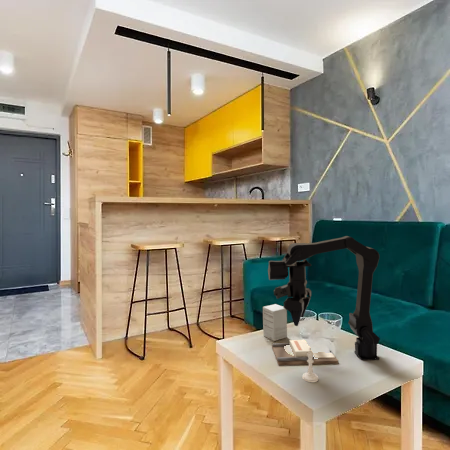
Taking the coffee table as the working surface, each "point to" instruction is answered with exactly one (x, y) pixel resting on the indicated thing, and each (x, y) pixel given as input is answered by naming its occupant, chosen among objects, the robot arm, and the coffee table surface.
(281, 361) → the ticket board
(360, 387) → the coffee table surface
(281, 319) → the grey drawer cabinet
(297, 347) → the cream flat box
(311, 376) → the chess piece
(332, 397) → the coffee table surface
